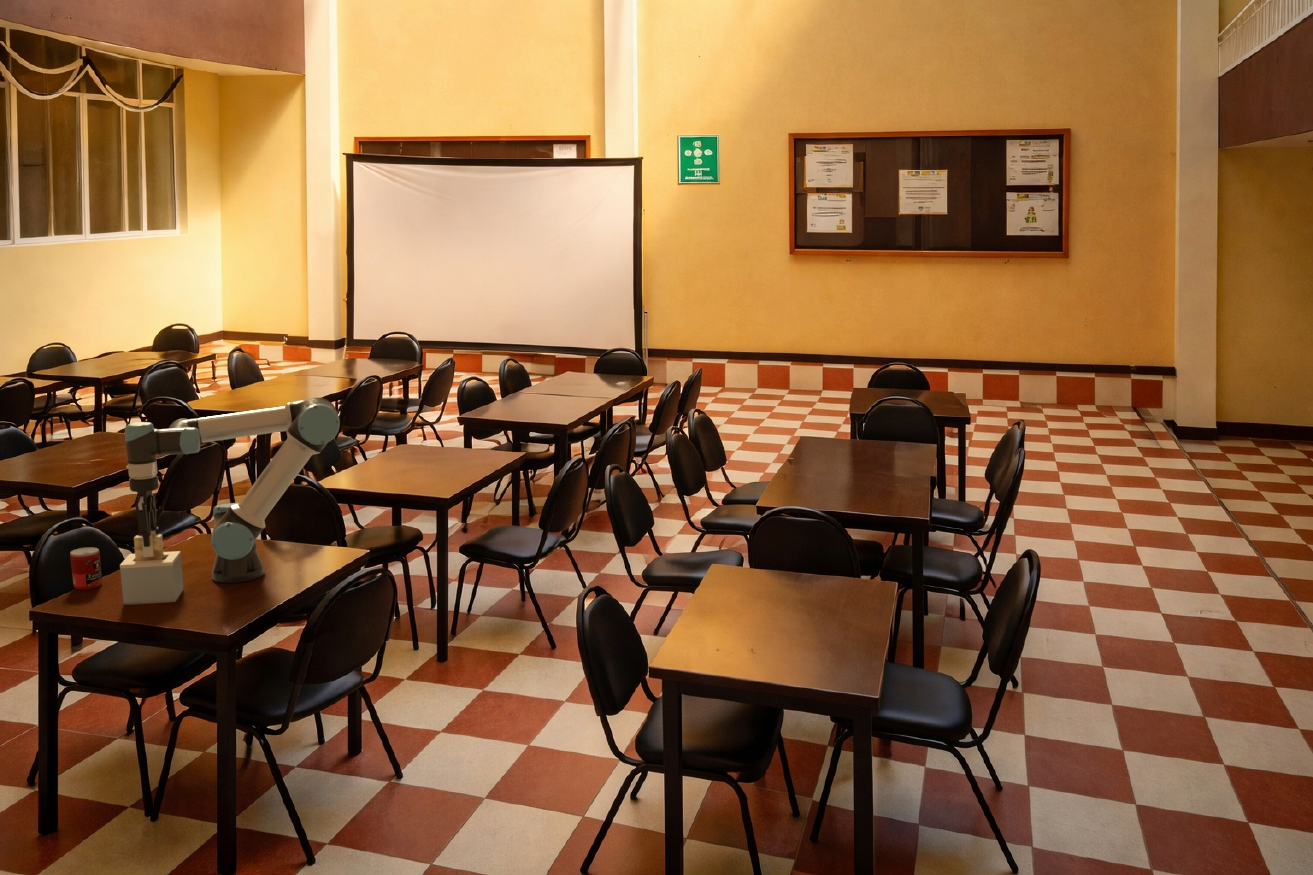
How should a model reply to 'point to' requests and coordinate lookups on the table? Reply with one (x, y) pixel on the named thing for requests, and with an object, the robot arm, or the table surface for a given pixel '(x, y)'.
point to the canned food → (86, 568)
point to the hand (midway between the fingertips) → (150, 554)
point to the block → (156, 547)
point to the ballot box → (152, 579)
